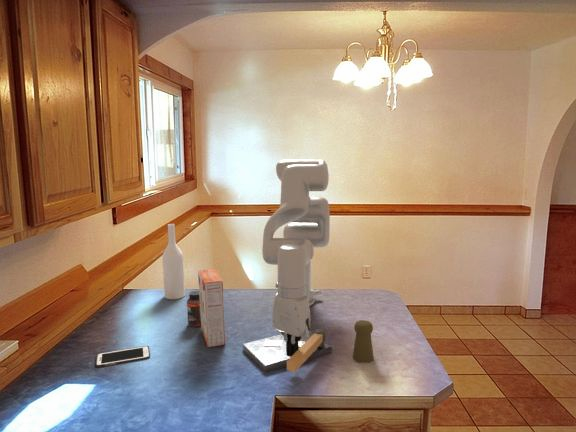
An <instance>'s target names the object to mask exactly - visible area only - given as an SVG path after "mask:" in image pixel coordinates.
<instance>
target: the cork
mask: <svg viewBox="0 0 576 432" xmlns="http://www.w3.org/2000/svg"><path fill="white" fill-rule="evenodd" d="M353 327H354V328H353V329H354V331H355V338H354V339H355V340H354V345H353V352H352V359H353V361H355V362H357V363H360V364H368V363H371V362H373V361H374V358H375V357H374V350H373V339H372V333H373V330H374V326H373V324H372V322H371V321H369V320H366V319H363V320H357V321H355V323H354V326H353Z"/></svg>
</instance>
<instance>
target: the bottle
mask: <svg viewBox="0 0 576 432" xmlns="http://www.w3.org/2000/svg"><path fill="white" fill-rule="evenodd" d="M167 237H168V238H167V239H168V243H167V246H166V247H165V249H164V251H163V253H162V270H163V271H162V275H163V287H164V288H163V289H164V290H163V291H164V298H165V299H167V300H179V299H182V298H184V297H185V295H186V290H185V287H186V286H185V267H184V265H185V264H184V253H183V252H182V250H181V249H180V247H179V246H178V244H177V241H176V226H175V223H168V224H167Z"/></svg>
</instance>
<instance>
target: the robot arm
mask: <svg viewBox="0 0 576 432" xmlns="http://www.w3.org/2000/svg"><path fill="white" fill-rule="evenodd" d="M328 167H329V166H328V164H327V162H326V161H325V160H323V159H282V160H279V161H278V162H277V163H276V166H275V171H276V172H275V173H276V176H277V178H278V179H279V181H280V182H281V184H280V202H279V203H280V204H279V208H278V209H276V210H275V211H274V212H273V214H271V216H269V218H268V219H267V222H265V223H266V224H265V226H264V229H263V234H262V235H263V237H262V248H261V249H262V252H261V254H262V259H263V261H264V262H265V263H266V264H268V265H272V266H273V265H275V266H276V265H277V282H276V283H275V288H277V292H276V293H275V296H274V300H273V307H272V327H273V329H275V330H276V331H278V332H279V333H281V334H282V335H283V336H284V340H285V342H286V352H287V356H290V357H291V356H292V355H293V354H294V353H295V352H296V351H297V350H298V341H300V340H307V339H308V338H309V331H310V332H311V325H312V324H311V323H312V322H311V321H312V320H311V309H310V306H312V305H314V304H315V296H319V295H322V290H321V289H314V288H312V287H311V285H312V284H311V283H312V282H311V277H312V276H311V270H312V269H311V267H312V266H311V260H312V259H313V257H314V254H315V253H314V249H315V248H316V249H317V248H325V247H327V246H328V244H329V241H330V217H331V216H330V215H331V213H330V212H331V211H330V204H329V200H327V199H326V198H325V197H321V196H310V192H324V191H326V190H327V188H328V185H329V179H330V178H329V176H330V175H329V170H328V169H329V168H328ZM284 225H285V226H284ZM282 226H284V228H283V233H282V234H283V237H274V235H275V233H276V232H277V230H278V229H279V228H282Z"/></svg>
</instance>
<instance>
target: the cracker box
mask: <svg viewBox="0 0 576 432" xmlns="http://www.w3.org/2000/svg"><path fill="white" fill-rule="evenodd" d="M197 275H198V291H199V296H200V313H201V326H200V329H201V332H202V335H203V338H204V341H205V343H206V347H207V348H215V347H219V346H220V347H221V346H225V345H226V331H225V327H226V326H225V310H224V308H225V306H224V286H223V285H224V284H223V280H222V278H221V277H220V275H219V273H218V272H217V270H216V269H215V268H211V269H200V270H198V271H197Z"/></svg>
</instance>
